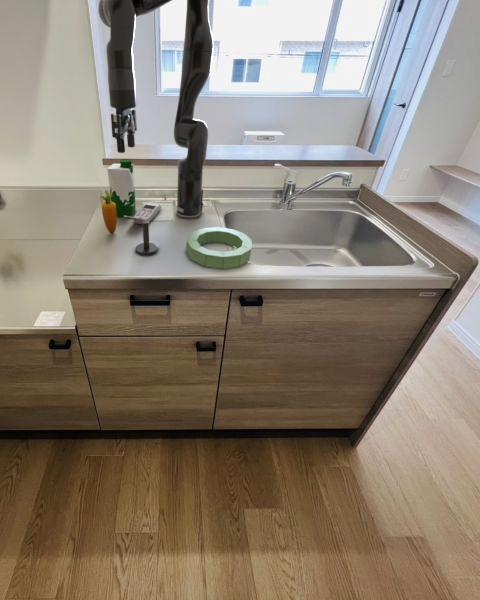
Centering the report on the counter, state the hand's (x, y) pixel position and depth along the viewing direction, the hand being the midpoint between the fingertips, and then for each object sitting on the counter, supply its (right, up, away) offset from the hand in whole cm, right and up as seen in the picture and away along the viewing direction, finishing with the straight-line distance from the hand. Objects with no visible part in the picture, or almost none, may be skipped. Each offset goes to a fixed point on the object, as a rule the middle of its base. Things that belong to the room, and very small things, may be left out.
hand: (126, 149), depth 99 cm
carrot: (-7, -25, +11) cm, 28 cm away
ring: (+29, -32, +1) cm, 43 cm away
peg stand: (+6, -31, +2) cm, 32 cm away
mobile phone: (+4, -17, +22) cm, 28 cm away
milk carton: (-5, -13, +26) cm, 30 cm away
